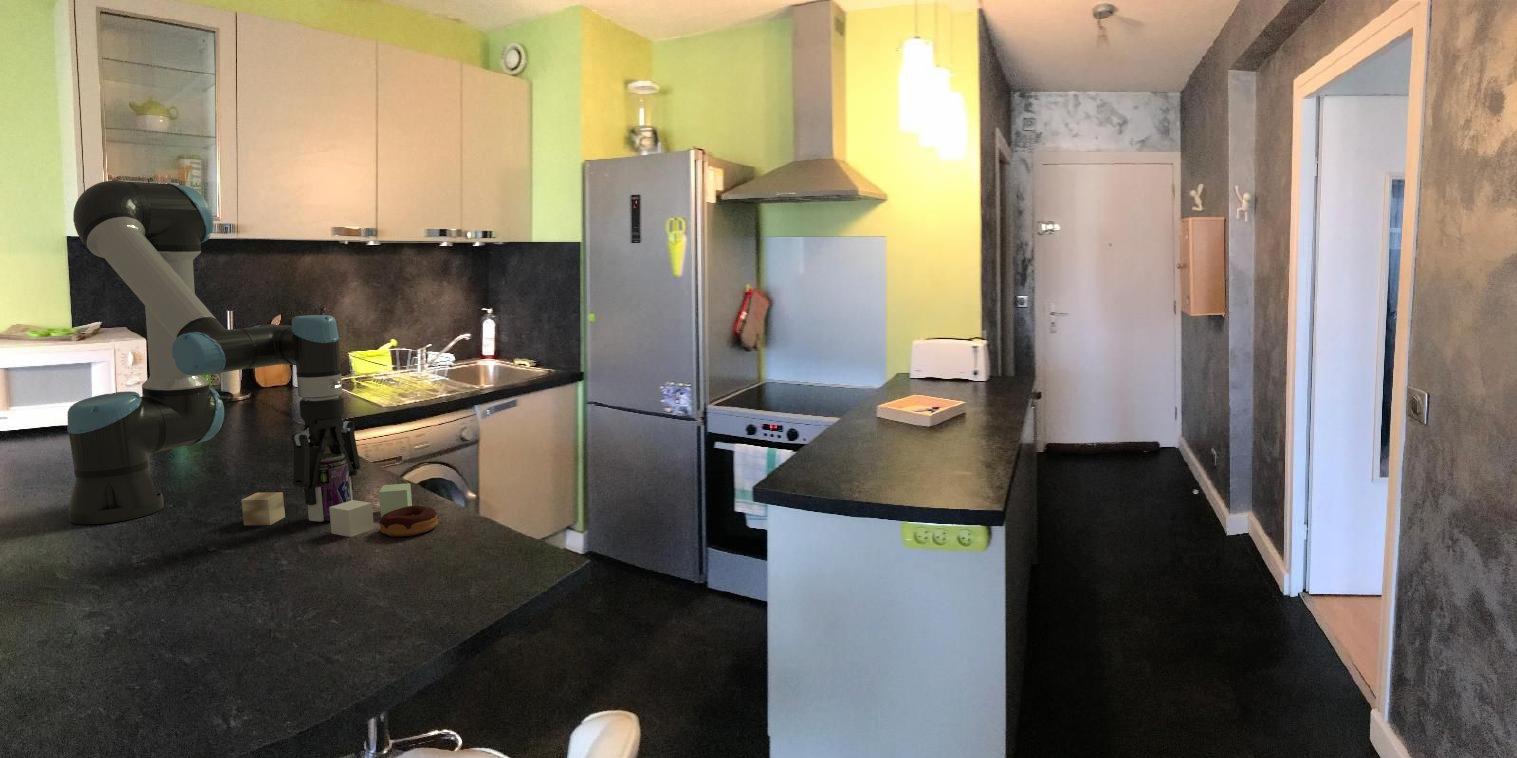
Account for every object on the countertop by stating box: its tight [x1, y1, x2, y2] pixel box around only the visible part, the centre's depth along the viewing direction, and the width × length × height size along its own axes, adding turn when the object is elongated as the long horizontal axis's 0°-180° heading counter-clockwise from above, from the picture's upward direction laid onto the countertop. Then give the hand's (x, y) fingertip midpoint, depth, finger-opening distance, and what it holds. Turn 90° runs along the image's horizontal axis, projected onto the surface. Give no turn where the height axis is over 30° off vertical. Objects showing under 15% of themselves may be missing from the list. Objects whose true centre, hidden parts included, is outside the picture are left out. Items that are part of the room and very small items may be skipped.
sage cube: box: [378, 483, 413, 518], centre depth 168 cm, size 5×5×5 cm
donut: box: [378, 505, 440, 538], centre depth 157 cm, size 10×10×4 cm
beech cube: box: [241, 491, 286, 526], centre depth 164 cm, size 5×5×5 cm
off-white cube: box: [329, 499, 375, 538], centre depth 157 cm, size 5×5×5 cm
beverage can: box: [309, 452, 351, 522], centre depth 165 cm, size 7×7×12 cm
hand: (331, 514), depth 166 cm, fingers closed on beverage can, 7 cm apart
